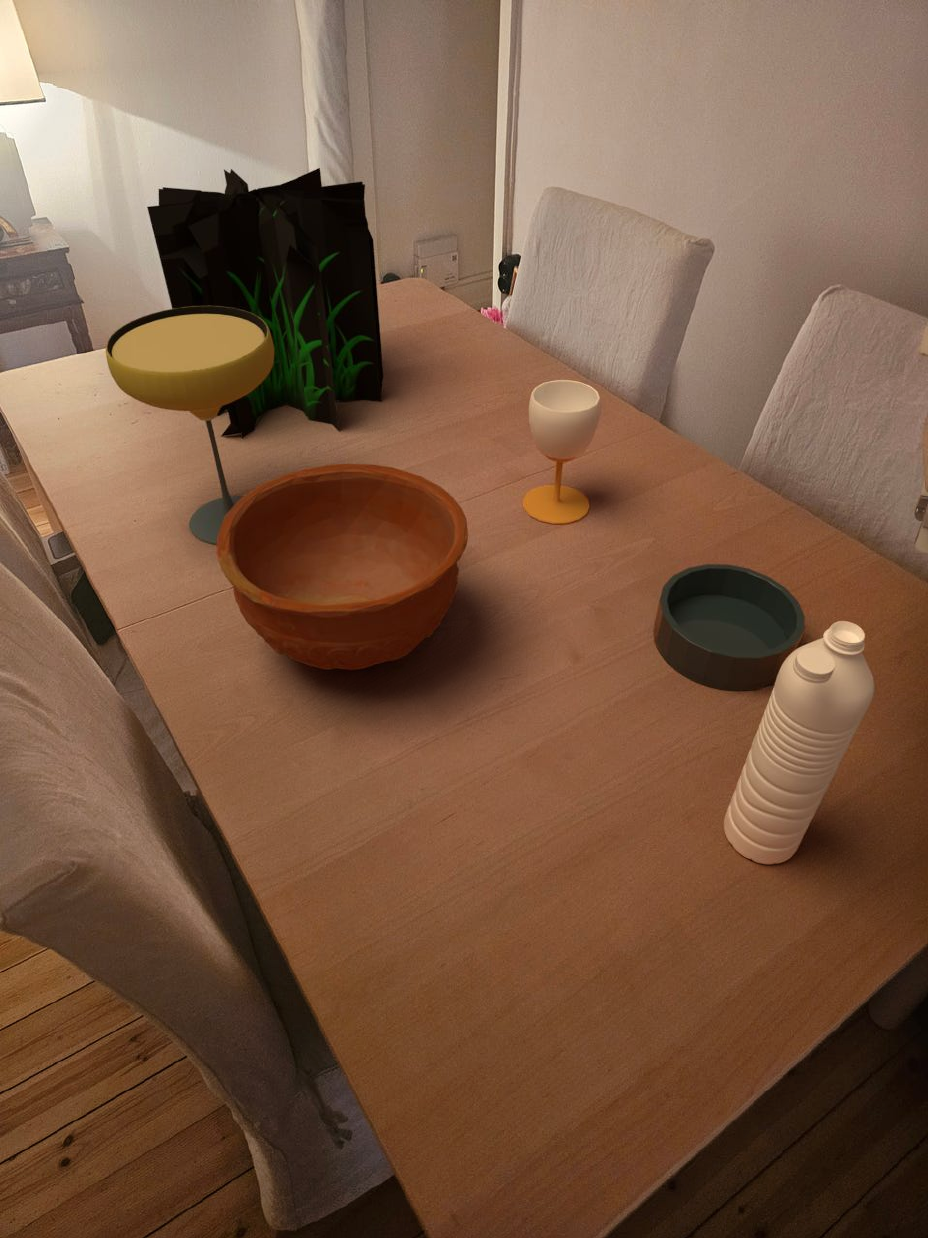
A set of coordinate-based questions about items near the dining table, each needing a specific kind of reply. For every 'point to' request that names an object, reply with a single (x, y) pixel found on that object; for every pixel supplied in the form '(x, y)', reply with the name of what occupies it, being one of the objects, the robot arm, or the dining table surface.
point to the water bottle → (799, 744)
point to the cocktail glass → (193, 374)
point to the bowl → (344, 562)
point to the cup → (561, 444)
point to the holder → (727, 626)
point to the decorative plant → (282, 285)
